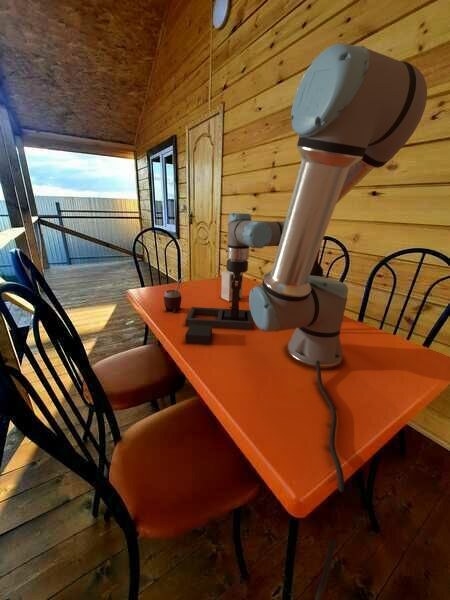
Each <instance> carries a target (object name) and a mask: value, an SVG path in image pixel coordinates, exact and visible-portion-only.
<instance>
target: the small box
mask: <svg viewBox="0 0 450 600" xmlns="http://www.w3.org/2000/svg"><path fill="white" fill-rule="evenodd" d="M231 275H234V274H233V272H229V271H227V270H223V271H221V293H220V294H221V295H220V296H221V297H220V298H221V299H223V300H225V301H227V302H232V290H233V289H232V288H231V284H232V282H231ZM240 275H242V282H241V289H240V293H239V297H241V299H243V283H244V273H243V272H241V273H240ZM241 299H240V300H241Z"/></svg>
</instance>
